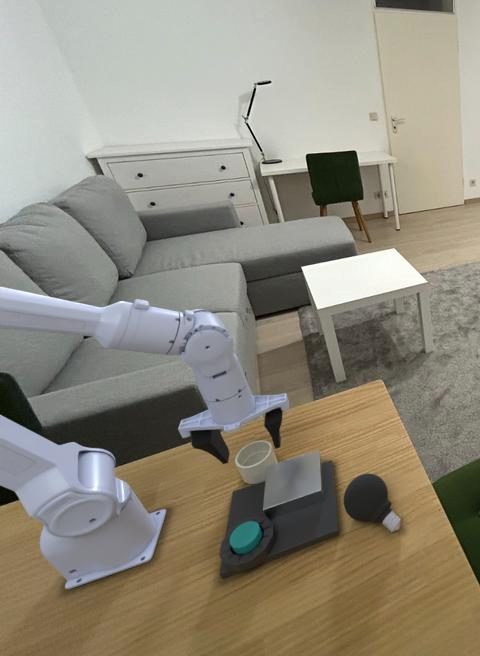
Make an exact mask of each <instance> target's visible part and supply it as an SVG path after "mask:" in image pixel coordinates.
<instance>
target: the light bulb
mask: <svg viewBox="0 0 480 656" xmlns="http://www.w3.org/2000/svg"><path fill="white" fill-rule="evenodd" d="M391 505H392V501H391V500H389V491H388V486H387V484H386V482H385V481H384V480H383V478H381V476H379V475H377V474H375V473H363V474H360V475H358V476H356V477H355V478H353V479H352V480H351V481H350V482H349V484H348V485H347V487H346V489H345V492H344V493H343V506H344V510H345V512H346V513H347V515H348V516H349V517H350V519H353V520H354V521H357V522H372V524H377V523H378V522H379V523H380V524H382V525H383V526H384V527H385V528H386V529H387V530H388V531H389V532H390V533H391V534H392V533H395V532H396V531H398V530H400V527H401V524H402V523H401V522H402V518H400V517H399V516H398V515H397V513H395V512H394V510H392V508H391Z"/></svg>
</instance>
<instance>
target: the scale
mask: <svg viewBox="0 0 480 656" xmlns="http://www.w3.org/2000/svg"><path fill="white" fill-rule="evenodd" d="M334 468H335V467H334V463H333V460H332V459H329V460H326V461H323V479H324V495H325V501H323V502H320V503H317V504H314V505H311V506H308V507H306V508H303V509H300V510H297V511H294V512H291V513H288V514H285V515H283V516H280V517H277V518H274V519H271V520H269V518H268V517H266V515H265V513H264V511H263V504H264V492H265V481H263V482H260V483H257V484H250V485H248V486H245V487H243V488H238V489H235V490H233V491H232V495H231V500H230V508H229V513H228V519H227V525H226V532H225V537H224V538H223V540H222V541H221V544H220V547H219V548H220V549H219V557H220V559H221V561H220V567H219V576H220V578H221V580H226V579H228V578H231V577H233V576H236V575H239V574H242V573H244V572H247V571H249V570H252V569H254V568H258V567H261V566H263V565H266V564H268V563H271V562H273V561H276V560H278V559H281V558H283V557H286V556H289V555H292V554H294V553H297V552H300V551H302V550H305V549H307V548H310V547H313V546H315V545H318V544H320V543H321V544H322V543H323V542H326V541H329V540H331V539H335V538H336V537H339V536H340V525H339V514H338V513H339V512H338V503H337V492H336V491H337V490H336V481H335V471H334V470H335V469H334ZM249 521H254V522H256V523H258V525H259V527H260V529H261V531H262V539H261V541H260V543H259V544H258V545H257V546H256V547H255V548H254V549H253V550H252V551H250V552H248V553H245V554H237V553H235V552H234V550H233V548H232V546H231V545H230V537H231V534H232V533H233V531H234V530H235V529H236V528H237V527H238V526H240V525H241V524H243V523H245V522H249Z"/></svg>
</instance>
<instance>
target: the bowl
mask: <svg viewBox="0 0 480 656" xmlns="http://www.w3.org/2000/svg"><path fill="white" fill-rule="evenodd" d="M278 462H279V461H278V458H277V456H276V453H275V451H274V448H273V446H272V444H271V443H270V441H267V440H255V441H252V442H250V443H248V444H246V445H244V446H243V447H242V448H240V450H239V451H238V452H237V454H236V455H235V457H234V463H235V466H236V467H237V469H238V472H239V474H240V476H241V478H242V480H243V481H244V483H246V484H248V485H254V484H257V483H260V482H264V481H265V480H266V468H267V466H269V465H272V464H275V463H278Z"/></svg>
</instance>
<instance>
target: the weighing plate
mask: <svg viewBox="0 0 480 656" xmlns="http://www.w3.org/2000/svg"><path fill="white" fill-rule="evenodd" d="M323 462H324V461H323V459H322V455H321V452H320V449H318V450H315V451H311V452H308V453H305V454H302V455H298V456H295V457H292V458H288V459H285V460H283V461H278V463H275V464H272V465H269V466H267V468H266V480H265V492H264V504H263V511H264V513H265V515H266V517H268V518H269V520H271V519H274V518H277V517H280V516H283V515H285V514H288V513H291V512H294V511H297V510H300V509H303V508H306V507H308V506H311V505H314V504H317V503H320V502H323V501H325V495H324V479H323Z"/></svg>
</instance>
